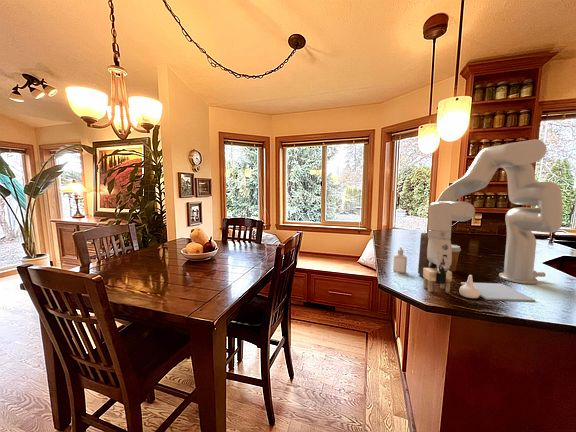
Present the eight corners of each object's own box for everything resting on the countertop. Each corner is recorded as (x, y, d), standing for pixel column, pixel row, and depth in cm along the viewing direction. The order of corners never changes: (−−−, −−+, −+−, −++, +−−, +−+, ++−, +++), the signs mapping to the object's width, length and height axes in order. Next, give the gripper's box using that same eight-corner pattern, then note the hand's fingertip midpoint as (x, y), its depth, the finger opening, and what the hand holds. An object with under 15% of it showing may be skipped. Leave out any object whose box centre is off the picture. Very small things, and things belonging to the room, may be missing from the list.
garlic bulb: (458, 292, 98) (457, 272, 98) (478, 294, 95) (477, 273, 95) (460, 298, 93) (458, 276, 93) (481, 300, 90) (480, 278, 89)
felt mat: (501, 285, 105) (501, 283, 104) (535, 301, 89) (535, 299, 89) (460, 283, 106) (460, 282, 106) (486, 299, 90) (486, 298, 90)
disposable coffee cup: (459, 268, 127) (460, 245, 126) (459, 273, 119) (461, 248, 118) (437, 265, 132) (438, 243, 131) (436, 270, 124) (437, 246, 123)
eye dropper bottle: (400, 274, 119) (401, 248, 117) (391, 270, 124) (392, 246, 123) (407, 272, 120) (408, 248, 119) (398, 269, 125) (399, 245, 124)
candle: (439, 279, 111) (441, 234, 109) (420, 278, 112) (423, 234, 110) (432, 274, 118) (435, 231, 116) (415, 273, 119) (417, 231, 118)
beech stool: (443, 287, 101) (444, 268, 100) (450, 293, 95) (452, 272, 95) (422, 287, 102) (423, 267, 101) (428, 292, 96) (429, 272, 95)
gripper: (462, 238, 88) (459, 289, 89) (438, 231, 105) (436, 273, 106) (439, 238, 88) (437, 288, 90) (419, 230, 105) (417, 273, 107)
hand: (436, 280), depth 98 cm, fingers closed on beech stool, 5 cm apart
